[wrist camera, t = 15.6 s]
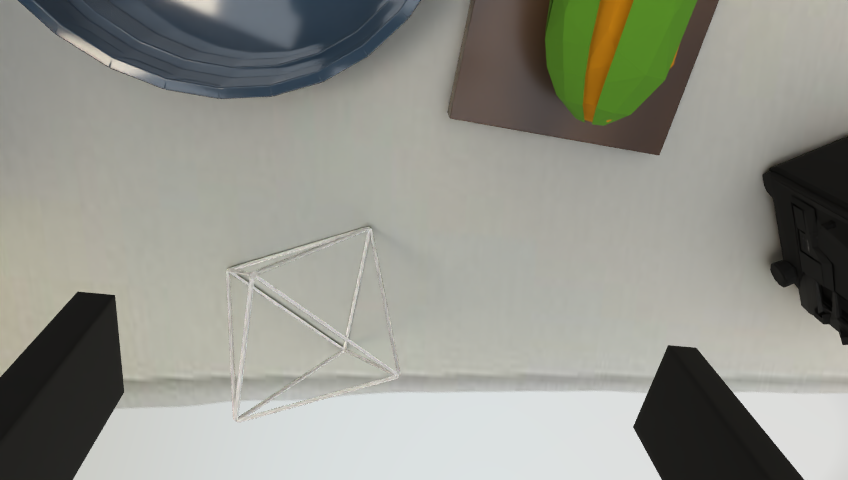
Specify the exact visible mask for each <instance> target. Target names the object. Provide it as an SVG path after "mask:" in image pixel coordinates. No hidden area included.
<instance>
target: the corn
mask: <svg viewBox="0 0 848 480" xmlns="http://www.w3.org/2000/svg"><path fill="white" fill-rule="evenodd" d="M696 2H697V0H550V3H549V9H548V16H547V23H546V29H545V34H546V36H545V45H546V61H547V69H548V72H549V75H550V78H551V80H552V83H553V86H554V89H555V92H556V95H557V96H558V97H559V99H560V100H561V101H562V102H563V104H564V105H565V106H566V107H567V108H568V110H569V111H570V112H571V113H572V115H573V116H574V117H575V118H576V119H578V120H580V121H582V122H584V123H585V120H587V121H590V122H592V124H593V125H601V126H604V125H607V124H609V123H612V122H614V121H617V120H619V119H621V118H624V117H626V116H629V115H631V114H632V113H633V112H634V111H635V110H636V109H637V108H638V107H639V106H640V105H641V104H642V103H643V102H644V101H645V100H646V99H647V98H648V97H649V96H650V95H651V94H652V93H653V92H654V91H655V90H656V89H657V88H658V87H659V86H660V85H661V84H662V83H663V82H664V81H665V79H666V77H667V74H668V72H669V69H670V68H671V67H672V66H673V65H674V61H675V58H676V55H677V52H678V48H679V45H680V42H681V39H682V37H683V34H684V32H685V30H686V27H687V25H688V22H689V20H690V17H691V15H692V12H693V10H694V7H695V5H696Z"/></svg>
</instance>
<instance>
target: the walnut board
mask: <svg viewBox="0 0 848 480" xmlns="http://www.w3.org/2000/svg"><path fill="white" fill-rule="evenodd" d="M718 1H719V0H697V2H696V5H695V7H694V10H693V12H692V15H691V17H690V20H689V22H688V25H687V27H686V30H685V32H684V34H683V37H682V39H681V42H680V45H679V48H678V52H677V55H676V58H675V61H674V65H673V66H672V67H671V68H670V69H669V72H668V74H667V77H666V79H665V81H664V82H663V83H662V84H661V85H660V86H659V87H658V88H657V89H656V90H655V91H654V92H653V93H652V94H651V95H650V96H649V97H648V98H647V99H646V100H645V101H644V102H643V103H642V104H641V105H640V106H639V107H638V108H637V109H636V110H635V111H634V112H633V113H632V114H631V115H629V116H626V117H624V118H621V119H619V120H617V121H614V122H612V123H609V124H607V125H604V126H601V125H593V124H592V122H590V121H587V120H585V123H584V122H582V121H580V120H578V119H576V118H575V117H574V116H573V115H572V113H571V112H570V111H569V110H568V108H567V107H566V106H565V105H564V104H563V102H562V101H561V100H560V99H559V97H558V96H557V95H556V92H555V89H554V86H553V83H552V80H551V78H550V75H549V72H548V69H547V61H546V45H545V36H546V34H545V29H546V23H547V16H548V9H549V3H550V0H471V3H470V7H469V12H468V17H467V22H466V27H465V31H464V36H463V41H462V46H461V51H460V55H459V60H458V65H457V70H456V75H455V79H454V84H453V89H452V94H451V98H450V103H449V108H448V114H449V117H450V118H451V119H457V120H463V121H468V122H474V123H480V124H485V125H491V126H496V127H502V128H508V129H513V130H519V131H525V132H530V133H536V134H542V135H547V136H553V137H558V138H564V139H570V140H575V141H581V142H587V143H592V144H598V145H603V146H609V147H615V148H620V149H626V150H632V151H637V152H643V153H648V154H654V155H660V152H661V150H662V147H663V144H664V142H665V139H666V136H667V134H668V131H669V129H670V126H671V123H672V121H673V118H674V116H675V113H676V110H677V108H678V105H679V103H680V100H681V97H682V95H683V92H684V90H685V87H686V84H687V82H688V79H689V77H690V74H691V71H692V69H693V66H694V64H695V61H696V58H697V56H698V53H699V51H700V48H701V45H702V43H703V40H704V38H705V35H706V32H707V30H708V27H709V25H710V22H711V19H712V17H713V14H714V12H715V9H716V6H717V4H718Z"/></svg>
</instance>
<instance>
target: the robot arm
mask: <svg viewBox="0 0 848 480" xmlns="http://www.w3.org/2000/svg"><path fill="white" fill-rule="evenodd" d="M123 393H124V385H123V375H122V364H121V354H120V343H119V333H118V322H117V312H116V301H115V295H107V294H96V293H85V292H77V293H76V294H75V295H74V296H73V298H72V299H71V300H70V301H69V302H68V303H67V304H66V305H65V306H64V307H63V309H62V310H61V311H60V312H59V313H58V314H57V315H56V316H55V317H54V319H53V320H52V321H51V322H50V323H49V324H48V325H47V326H46V327H45V329H44V330H43V331H42V332H41V333H40V334H39V335H38V336H37V337H36V338H35V340H34V341H33V342H32V343H31V344H30V345H29V346H28V347H27V348H26V350H25V351H24V352H23V353H22V354H21V355H20V356H19V357H18V358H17V359H16V361H15V362H14V363H13V364H12V365H11V366H10V367H9V368H8V369H7V371H6V372H5V373H4V374H3V375H2V376H1V377H0V480H73V478H74V476H75V475H76V473H77V471H78V469H79V468H80V466H81V464H82V463H83V461H84V459H85V458H86V456H87V454H88V453H89V451H90V449H91V447H92V446H93V444H94V442H95V441H96V439H97V437H98V436H99V434H100V432H101V430H102V429H103V427H104V425H105V424H106V422H107V420H108V418H109V417H110V415H111V413H112V412H113V410H114V408H115V407H116V405H117V403H118V402H119V400H120V398H121V396H122V395H123ZM633 428H634V429H635V431H636V433H637V435H638V437H639V439H640V440H641V442H642V444H643V446H644V448H645V450H646V451H647V453H648V455H649V457H650V459H651V461H652V462H653V464H654V466H655V468H656V470H657V472H658V473H659V475H660V477H661V479H662V480H804V479H803V478H802V477H801V475H800V474H799V473H798V472H797V470H796V469H795V468H794V467H793V466H792V464H791V463H790V462H789V461H788V460H787V458H786V457H785V456H784V455H783V453H782V452H781V451H780V450H779V449H778V447H777V446H776V445H775V444H774V443H773V441H772V440H771V439H770V438H769V436H768V435H767V434H766V433H765V431H764V430H763V429H762V428H761V427H760V425H759V424H758V423H757V422H756V420H755V419H754V418H753V417H752V415H750V413H749V412H748V411H747V409H746V408H745V407H744V406H743V404H742V403H741V402H740V401H739V400H738V398H737V397H736V396H735V395H734V393H733V392H732V391H731V390H730V389H729V387H728V386H727V385H726V384H725V382H724V381H723V380H722V379H721V378H720V376H719V375H718V374H717V373H716V371H715V370H714V369H713V368H712V367H711V365H710V364H709V363H708V362H707V360H706V359H705V358H704V357H703V356H702V354H701V353H700V352H699V351H698V349H697V348H692V347H681V346H670V345H668V347H667V349H666V352H665V354H664V356H663V359H662V361H661V363H660V366H659V368H658V370H657V373H656V375H655V377H654V380H653V382H652V384H651V387H650V389H649V391H648V394H647V396H646V398H645V401H644V403H643V405H642V408H641V410H640V412H639V415H638V417H637V419H636V422H635V424H634V426H633Z"/></svg>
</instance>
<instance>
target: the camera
mask: <svg viewBox="0 0 848 480" xmlns="http://www.w3.org/2000/svg"><path fill="white" fill-rule="evenodd" d="M763 180H764V186H765V188H766V190H767V192H768V193H769V194H770V195H771V196H772V197H773V200H774V206H775V212H776V218H777V224H778V230H779V236H780V242H781V247H782V253H783V259H784V260H781V261H778V262H775V263H772V264H771V269H770V270H771V273H772V275H773V277H774V279H775V280H776V281H777V282H778V284H779V285H781V286H782V287H786V286H789V285H791V284H795V285H796V287H797V288H798V289H799V294H800V300H801V305H802V306H803V307H804V308H805V309H806V310H807V311H808V312H809V313H810V314H812V315H814V317H816V318H817V319H818V320H819V321H820V322H822V323H823V324H830V325H831V326H832V327H833V328H835V329H836V330H837V331H838V332H839V334H840V337H841V341H842V344H843V345H848V137H846V138H843V139H841V140H838V141H836V142H834V143H831V144H829V145H826V146H824V147H821V148H819V149H816V150H814V151H811V152H809V153H806V154H804V155H801V156H799V157H796V158H794V159H791V160H789V161H787V162H784V163H782V164H779V165H777V166H774V167H772V168H770V172H768V173H766V174H764V175H763Z"/></svg>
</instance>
